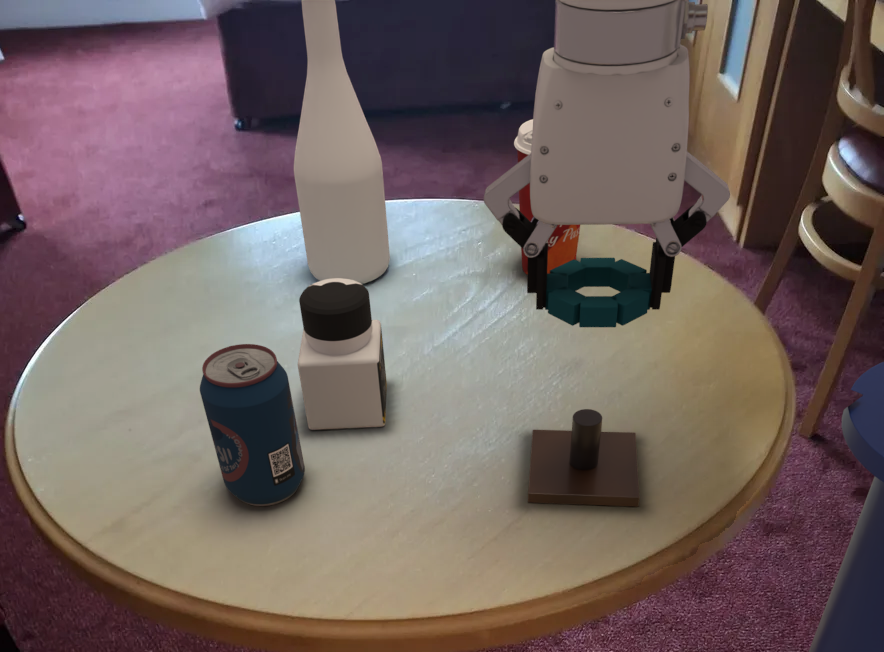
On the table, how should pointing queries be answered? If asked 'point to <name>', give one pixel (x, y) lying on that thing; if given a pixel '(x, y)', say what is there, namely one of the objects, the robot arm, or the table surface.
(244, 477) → the soda can
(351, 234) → the wine bottle
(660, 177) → the robot arm
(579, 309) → the ring
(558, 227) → the coffee cup
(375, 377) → the medicine bottle
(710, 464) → the table surface
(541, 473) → the ring post
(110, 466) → the table surface
